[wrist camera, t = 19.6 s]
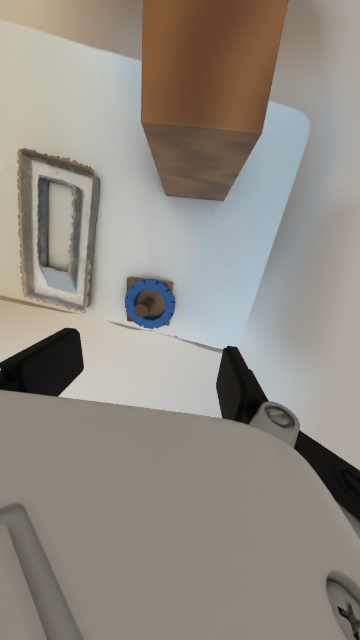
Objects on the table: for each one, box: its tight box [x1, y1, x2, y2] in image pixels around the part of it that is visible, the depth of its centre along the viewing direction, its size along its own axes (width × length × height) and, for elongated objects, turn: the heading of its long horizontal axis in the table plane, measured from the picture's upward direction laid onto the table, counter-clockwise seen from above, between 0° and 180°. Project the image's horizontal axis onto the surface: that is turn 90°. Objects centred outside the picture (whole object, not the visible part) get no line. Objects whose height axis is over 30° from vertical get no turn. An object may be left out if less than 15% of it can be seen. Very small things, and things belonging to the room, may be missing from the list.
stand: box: [141, 0, 288, 201], centre depth 19 cm, size 10×10×16 cm
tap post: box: [127, 277, 173, 326], centre depth 32 cm, size 9×9×8 cm
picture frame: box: [17, 148, 100, 313], centre depth 31 cm, size 13×25×3 cm, turn 166°
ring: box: [125, 279, 175, 329], centre depth 33 cm, size 10×10×2 cm
